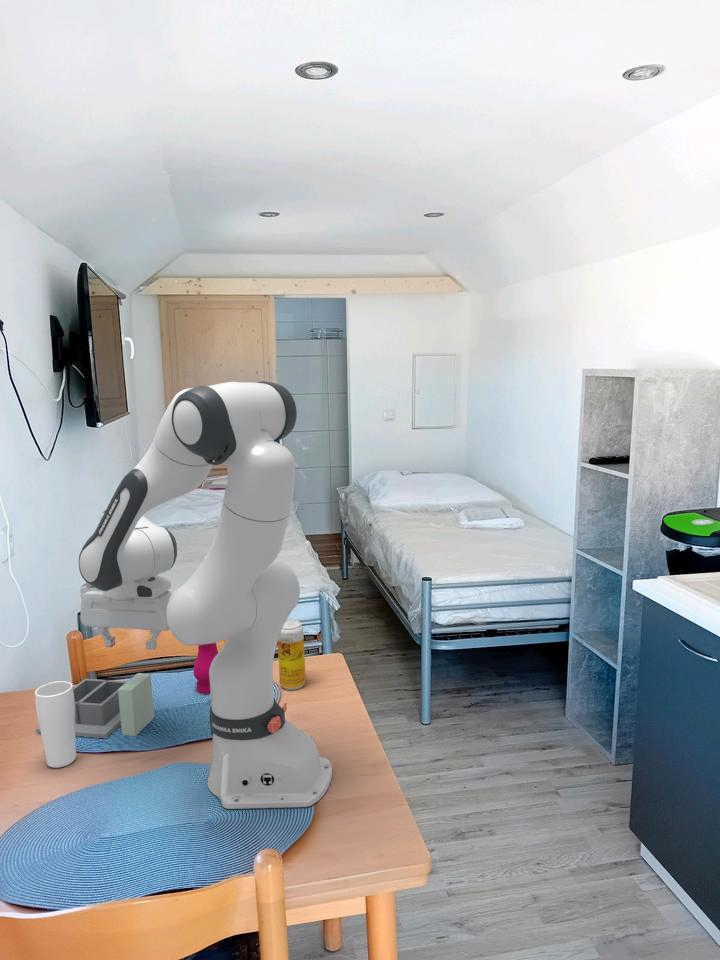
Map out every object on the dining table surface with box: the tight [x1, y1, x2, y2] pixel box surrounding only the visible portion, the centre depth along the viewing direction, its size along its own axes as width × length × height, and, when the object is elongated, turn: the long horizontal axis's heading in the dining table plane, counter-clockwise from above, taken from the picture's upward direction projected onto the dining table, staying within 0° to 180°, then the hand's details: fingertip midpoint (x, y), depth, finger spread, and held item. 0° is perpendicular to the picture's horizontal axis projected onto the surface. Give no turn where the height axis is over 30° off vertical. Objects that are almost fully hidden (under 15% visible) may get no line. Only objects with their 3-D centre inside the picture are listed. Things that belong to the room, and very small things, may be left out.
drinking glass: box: [34, 680, 77, 769], centre depth 135 cm, size 7×7×15 cm
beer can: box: [277, 619, 307, 691], centre depth 165 cm, size 6×6×15 cm
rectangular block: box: [118, 672, 155, 737], centre depth 148 cm, size 3×8×10 cm, turn 168°
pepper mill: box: [192, 642, 219, 695], centre depth 164 cm, size 7×7×20 cm
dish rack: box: [35, 678, 129, 739], centre depth 154 cm, size 16×18×6 cm
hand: (130, 647), depth 147 cm, fingers open, 8 cm apart
